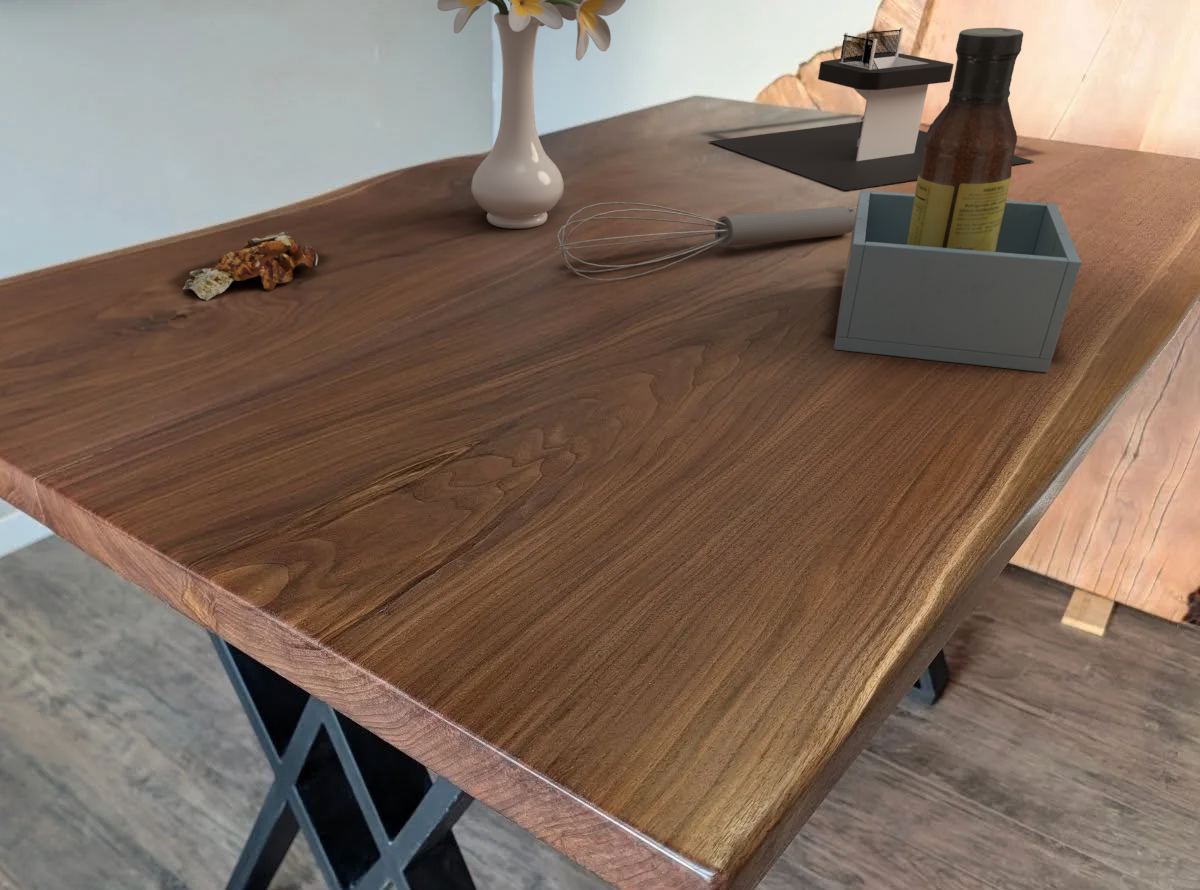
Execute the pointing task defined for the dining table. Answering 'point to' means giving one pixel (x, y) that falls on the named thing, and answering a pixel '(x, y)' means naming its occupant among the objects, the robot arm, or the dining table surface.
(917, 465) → the dining table surface
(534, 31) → the flower vase
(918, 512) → the dining table surface
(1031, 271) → the open box
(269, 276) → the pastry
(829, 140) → the black-topped pedestal
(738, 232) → the kitchen whisk
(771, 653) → the dining table surface
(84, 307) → the dining table surface
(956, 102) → the sauce bottle
